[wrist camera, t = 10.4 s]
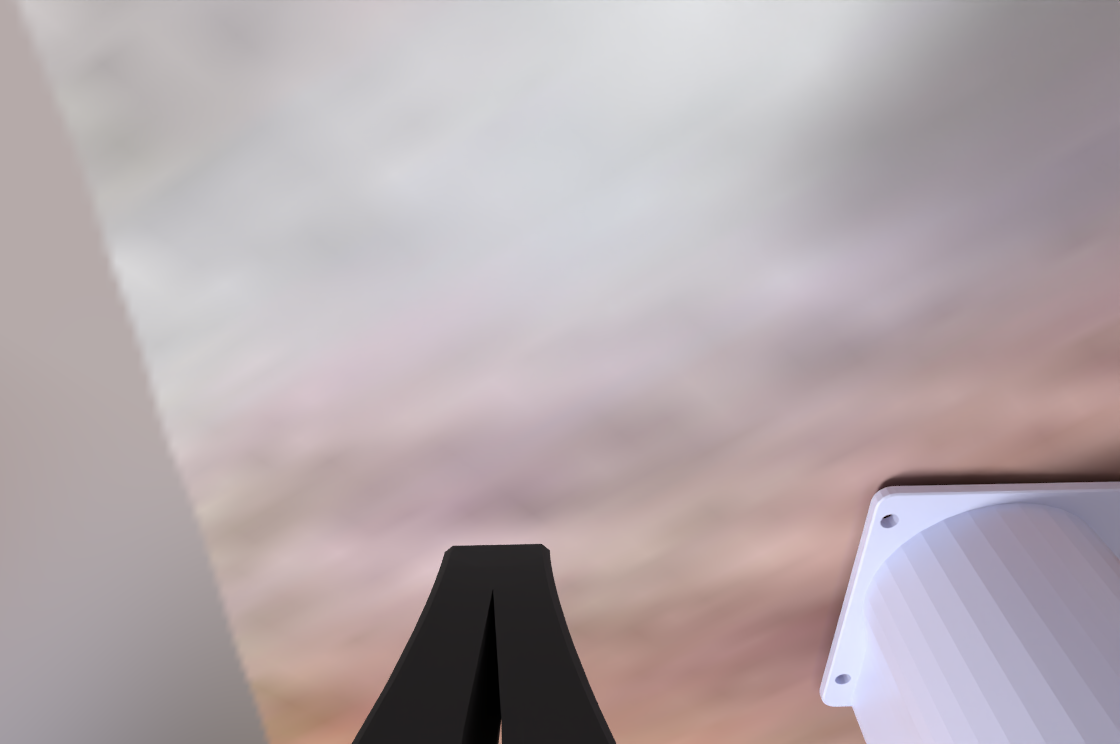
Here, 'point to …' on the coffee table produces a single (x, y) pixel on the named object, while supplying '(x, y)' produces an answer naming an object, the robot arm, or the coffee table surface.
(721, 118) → the coffee table surface
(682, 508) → the coffee table surface
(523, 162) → the coffee table surface
